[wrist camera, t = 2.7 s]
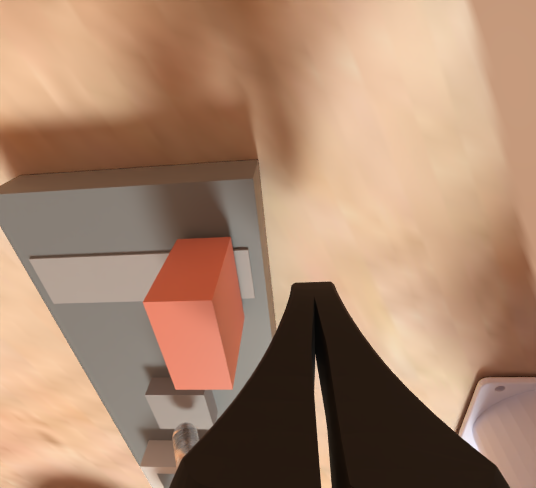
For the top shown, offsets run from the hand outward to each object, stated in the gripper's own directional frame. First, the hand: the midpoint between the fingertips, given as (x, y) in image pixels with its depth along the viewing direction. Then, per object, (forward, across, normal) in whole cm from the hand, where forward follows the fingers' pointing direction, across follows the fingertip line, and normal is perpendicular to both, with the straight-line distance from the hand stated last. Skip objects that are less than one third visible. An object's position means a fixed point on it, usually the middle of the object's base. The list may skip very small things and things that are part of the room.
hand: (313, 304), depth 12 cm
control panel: (+4, +7, +8) cm, 11 cm away
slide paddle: (+2, +4, 0) cm, 4 cm away
